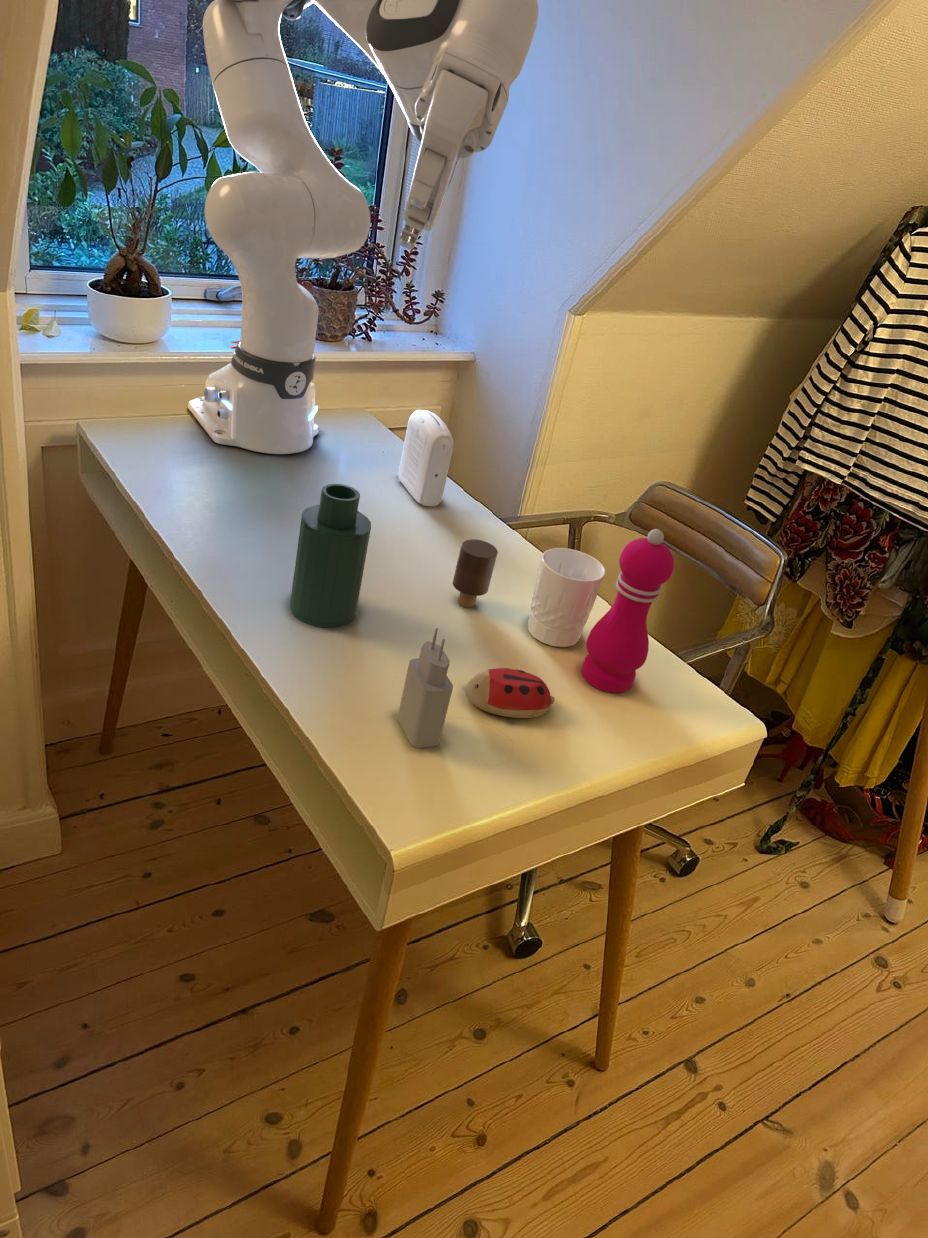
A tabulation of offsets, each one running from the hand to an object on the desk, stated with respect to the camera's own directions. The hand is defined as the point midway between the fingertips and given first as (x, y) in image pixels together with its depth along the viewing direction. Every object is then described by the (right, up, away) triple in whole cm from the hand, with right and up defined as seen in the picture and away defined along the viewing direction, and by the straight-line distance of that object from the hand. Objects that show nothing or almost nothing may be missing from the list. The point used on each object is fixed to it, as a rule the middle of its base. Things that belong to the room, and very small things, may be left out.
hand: (411, 224), depth 101 cm
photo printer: (-1, -22, +48) cm, 52 cm away
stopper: (+6, -39, +22) cm, 45 cm away
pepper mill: (+23, -48, +14) cm, 55 cm away
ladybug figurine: (+10, -51, +5) cm, 52 cm away
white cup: (+17, -43, +20) cm, 51 cm away
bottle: (-11, -40, +14) cm, 44 cm away
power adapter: (+1, -53, -2) cm, 53 cm away
